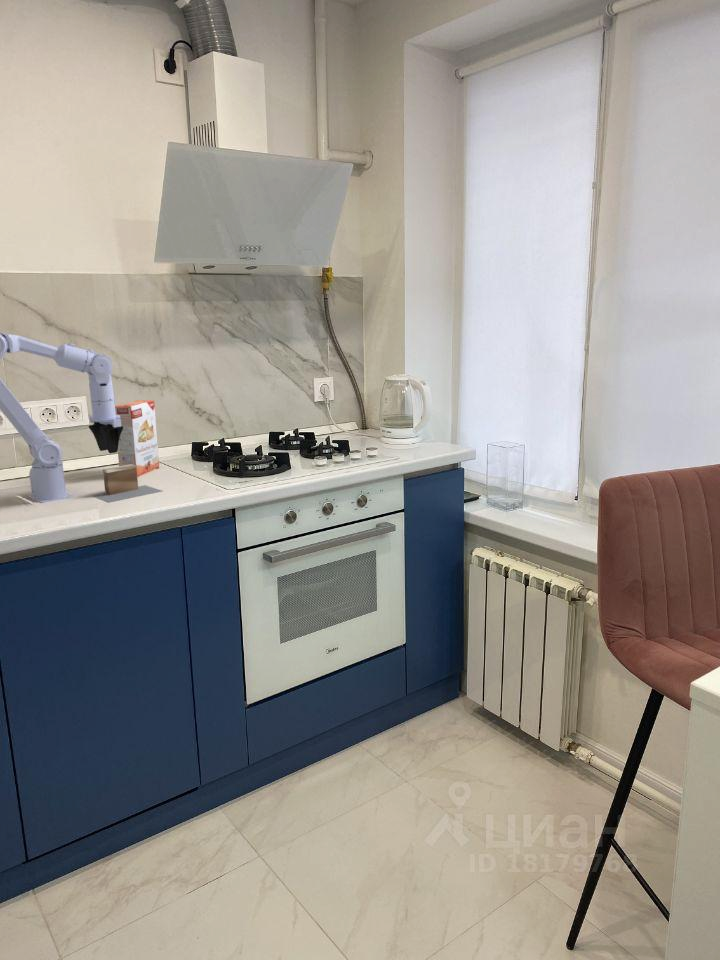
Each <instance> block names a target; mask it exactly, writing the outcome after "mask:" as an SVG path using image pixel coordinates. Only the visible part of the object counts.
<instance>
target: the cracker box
mask: <svg viewBox="0 0 720 960" xmlns="http://www.w3.org/2000/svg"><path fill="white" fill-rule="evenodd" d="M115 412H116V415H120V418H119V419H121V426H123V430H122V432H121V435H120V438H119V444H118V451H117V456H118V457H117V459H118V467H119V466H124V465H130V464H133V465H136V470H137V478H138V477H139V478H140V477H142V476H143V475H145V474H147V473H150V472H152V471H154V470H158V469H160V459H159V458H160V457H159V447H158V434H157V433H158V432H157V420H156V419H157V418H156V408H155V400H152V399H141V400H138V399H137V400H135V401H133V400H132V401H130V402H126V403H125V402H124V403H122V404H116V405H115Z"/></svg>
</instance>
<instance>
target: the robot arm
mask: <svg viewBox="0 0 720 960" xmlns="http://www.w3.org/2000/svg"><path fill="white" fill-rule="evenodd" d="M18 352H25V353H29V354H33V355H37V356H41V357H44V358H47V359H52V360H54V361H55V363H56V366H58V367H61V368H65V369H68V370H73V371H77V372H79V373H83V374H84V373H87V374H88V382H89V383H88V385H89V393H90V403H91V410H92V411H91V412H92V414H90V415H89V416H88V417H89V422H90V423H93V424H90V425H88V428H89V430H90V431H91V434H93V436H94V440H95V442H96V445H97V446H98V447H97V448H98V450H99V451H100V452H105V451H108V454H115V453H118V444H119V438H120V435H121V432H122V430H123V426H121V419H119V418H120V415H116V412H115V406H116V405H115V395H114V387H113V386H114V385H113V381H112V373H113V370H114V364H113V363H112V360H111V359H110V358H109V357H108V356H107V355H105V354H100V353H97V352H95V351H94V350H93V349H88V350H86V349H84V348H80V347H76V345H75V344H74V343H71V342H68V343H67V344H66V343H63V344H61V345H59V346H54V345H50V344H47V343H44V342H40V341H37V340H35V339H31V338H27V337H25V336H21V335H18V334H10V333H0V362H1V360H2V359H3V358H4V356H5V354H6V353H7V354H13V353H18ZM0 411H1V413H2V414H3V415H4V416H5V417H6V418H7V420H8V421H9V422H10V423H11V425H12V427H14V429H15V430H16V431H17V432H18V433H19V435H20V436H21V437H22V439H23V440H24V442H26V444H27V446H28V448H29V454H30V455H31V457H33V461H32V463H31V468H30V470H29V472H28V473H29V474H28V475H29V482H30V490H31V494H30V495H28V497H27V498H30V499H32V500H34V501H36V502H37V503H40V504H44V503H50V502H55V501H59V500H64V499H65V500H66V499H69V498H73V494H69V493H67V488H66V487H67V486H66V480H65V472H64V465H63V460H61V459H62V457H63V450H62V448H61V446H60V444H58V443H57V442H55V441H53V440H52V438H50V437H48V436H47V435H46V434H45V433H44V431H43V430H42V429H41V428H40V427H39V426H38V425H37V423H36V422H35V421H34V419H33V418H32V417H31V416H30V414H29V413H28V412H27V411H26V409H25V408H24V407H23V405H22V404H21V403H20V401H18V399H17V397H15V395H14V393H12V391H11V390H10V389H9V388H8V387H7V385H6V384H5V383H4V381H3V380H2V379H1V378H0Z"/></svg>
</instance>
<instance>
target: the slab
mask: <svg viewBox="0 0 720 960" xmlns="http://www.w3.org/2000/svg"><path fill="white" fill-rule="evenodd" d="M102 475H103V476H102V477H103V482H104V493H105V494H108V495H113V494H118V493H123V492H128V491H133V490H138V486H139V482H138V481H139V480H138V477H137V470H136V465H133V464H130V465H124V466H119V465H118V466H115V467H108V468H102Z"/></svg>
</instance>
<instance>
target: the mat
mask: <svg viewBox="0 0 720 960" xmlns="http://www.w3.org/2000/svg"><path fill="white" fill-rule="evenodd" d="M162 492H163V490H161V489H158V488H155V487H152V486H148V485H147V484H146V485H145V484H144V485H140V486H139V485H138V490H133V491H128V492H123V493H118V494H113V495H108V494H105V492H104V493H99V494H94V495H92V497H93V498H96V499H98V500H101V501H103V502H106V503H108V504H109V503H114V502H119V501H124V500H128V499H133V498H139V497H143V496H147V495H153V494H157V493H162Z"/></svg>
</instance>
